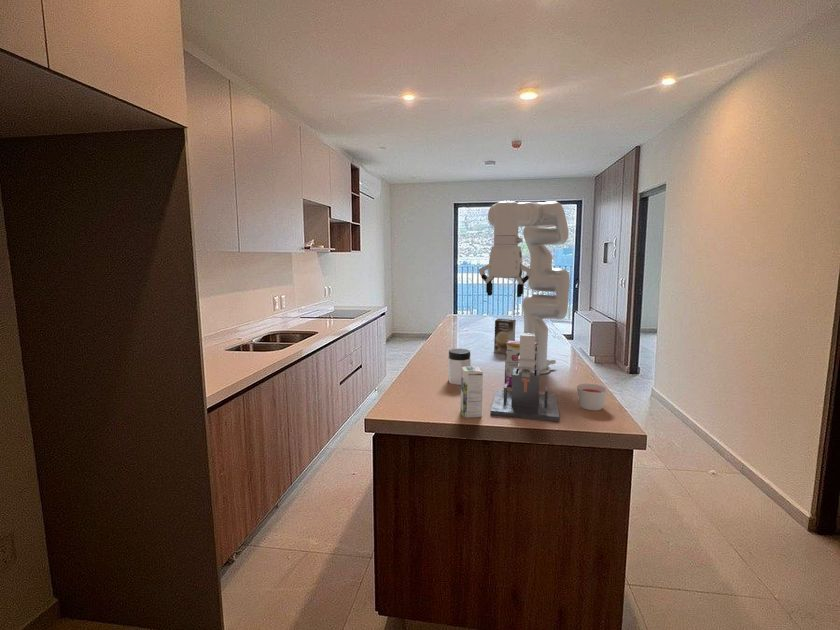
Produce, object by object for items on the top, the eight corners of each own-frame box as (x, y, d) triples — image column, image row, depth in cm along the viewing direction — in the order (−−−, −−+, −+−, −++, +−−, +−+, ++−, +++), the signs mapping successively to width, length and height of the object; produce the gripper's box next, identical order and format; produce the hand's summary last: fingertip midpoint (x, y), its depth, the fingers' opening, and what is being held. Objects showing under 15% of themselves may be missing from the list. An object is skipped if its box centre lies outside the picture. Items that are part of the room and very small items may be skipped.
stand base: (556, 399, 146) (558, 362, 144) (559, 421, 127) (561, 380, 125) (496, 394, 151) (497, 358, 149) (490, 415, 132) (491, 375, 130)
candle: (576, 400, 144) (577, 382, 143) (605, 404, 141) (606, 385, 140) (575, 410, 136) (576, 390, 135) (606, 413, 133) (607, 394, 132)
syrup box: (459, 411, 135) (460, 366, 133) (478, 410, 136) (479, 365, 134) (463, 418, 130) (463, 371, 127) (482, 417, 130) (483, 371, 128)
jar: (456, 386, 159) (456, 354, 157) (443, 380, 166) (443, 350, 164) (475, 382, 164) (475, 351, 162) (461, 377, 171) (461, 347, 169)
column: (533, 399, 140) (536, 333, 137) (533, 405, 136) (535, 336, 132) (517, 398, 142) (519, 332, 138) (516, 403, 137) (519, 335, 133)
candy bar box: (504, 386, 159) (505, 342, 157) (506, 382, 164) (507, 340, 162) (535, 389, 156) (537, 345, 153) (536, 385, 160) (538, 342, 158)
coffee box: (493, 352, 210) (494, 320, 207) (496, 350, 215) (497, 318, 213) (512, 354, 206) (513, 321, 203) (515, 351, 212) (516, 319, 209)
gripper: (536, 241, 136) (534, 296, 138) (483, 242, 143) (482, 293, 146) (530, 241, 129) (528, 298, 132) (475, 242, 137) (474, 295, 139)
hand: (504, 295), depth 139 cm, fingers open, 9 cm apart
